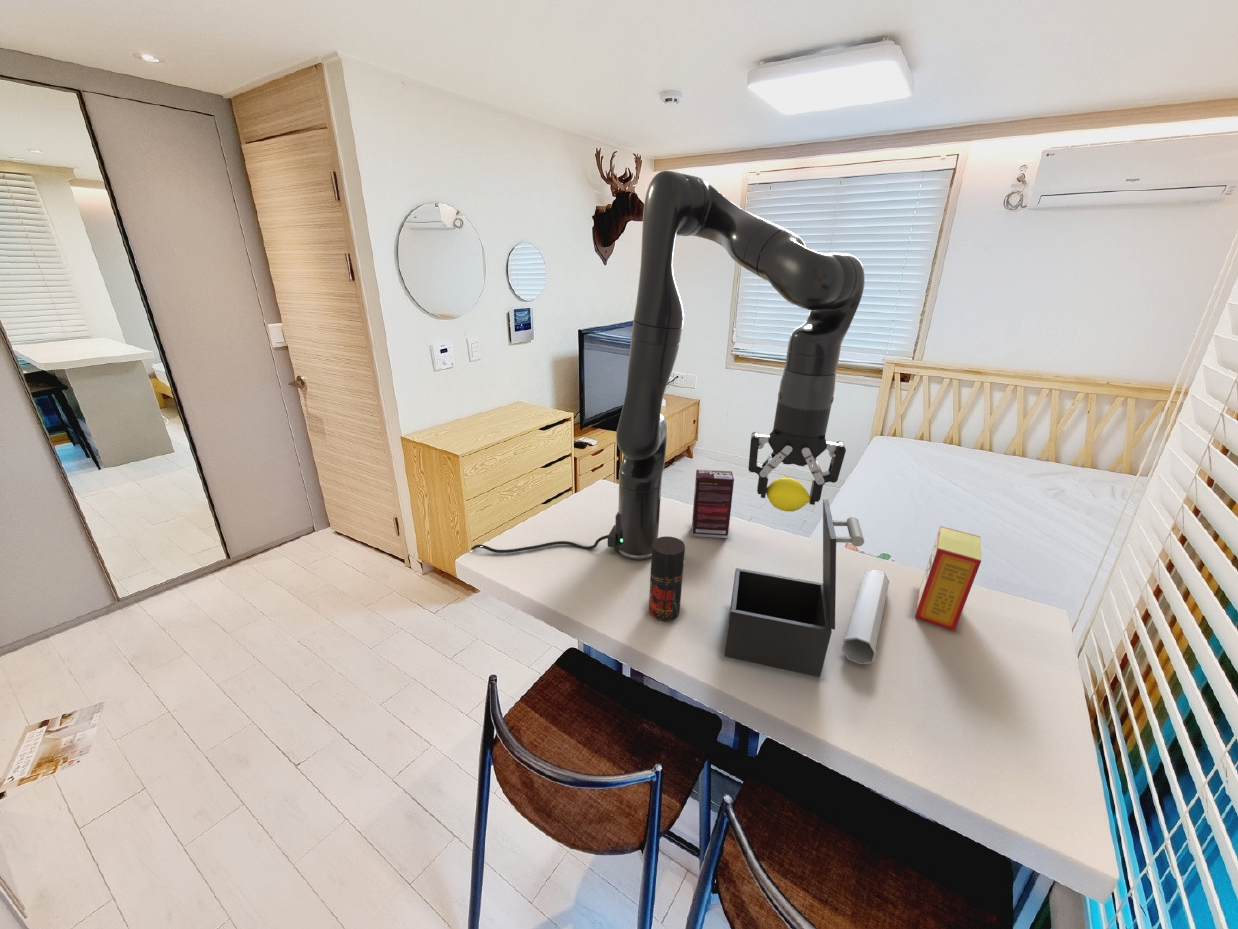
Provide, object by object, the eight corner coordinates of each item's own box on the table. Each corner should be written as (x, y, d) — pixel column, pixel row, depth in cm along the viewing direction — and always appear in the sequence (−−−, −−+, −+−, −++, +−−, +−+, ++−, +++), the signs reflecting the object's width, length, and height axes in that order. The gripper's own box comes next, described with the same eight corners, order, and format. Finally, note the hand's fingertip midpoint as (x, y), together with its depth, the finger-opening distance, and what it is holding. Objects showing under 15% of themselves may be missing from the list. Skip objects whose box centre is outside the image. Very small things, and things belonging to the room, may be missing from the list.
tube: (861, 564, 105) (839, 635, 86) (890, 565, 102) (873, 639, 82) (864, 586, 106) (843, 662, 87) (893, 588, 103) (878, 667, 84)
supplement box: (725, 528, 124) (733, 470, 118) (727, 539, 120) (735, 479, 113) (690, 526, 125) (695, 468, 119) (691, 536, 121) (696, 477, 114)
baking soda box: (918, 591, 104) (940, 524, 97) (955, 603, 100) (981, 534, 94) (914, 617, 96) (938, 547, 90) (954, 631, 93) (981, 559, 86)
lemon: (759, 511, 81) (764, 481, 78) (767, 497, 85) (771, 468, 83) (804, 522, 78) (810, 491, 76) (810, 507, 82) (816, 477, 80)
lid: (830, 538, 72) (868, 539, 71) (823, 499, 83) (855, 498, 82) (829, 629, 78) (864, 631, 77) (822, 581, 90) (853, 582, 88)
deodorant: (643, 605, 98) (646, 540, 92) (670, 597, 100) (675, 533, 94) (657, 625, 93) (661, 557, 87) (685, 616, 95) (691, 550, 89)
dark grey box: (724, 656, 86) (730, 611, 82) (730, 609, 97) (735, 567, 93) (820, 677, 83) (831, 631, 79) (814, 626, 94) (824, 583, 90)
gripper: (853, 397, 75) (831, 495, 82) (755, 388, 79) (742, 483, 86) (861, 413, 69) (837, 517, 76) (753, 402, 72) (739, 503, 79)
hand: (786, 498), depth 81 cm, fingers closed on lemon, 7 cm apart
